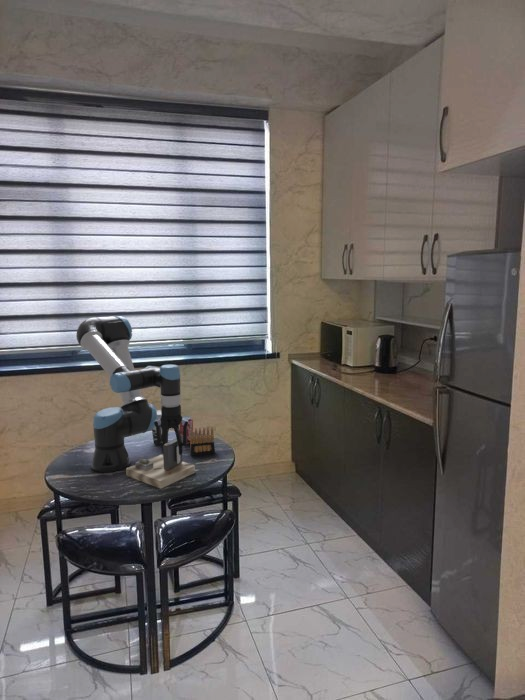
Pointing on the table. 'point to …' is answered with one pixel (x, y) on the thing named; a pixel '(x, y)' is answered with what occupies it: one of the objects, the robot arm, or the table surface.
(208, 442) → the ammunition clip
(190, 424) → the soda can
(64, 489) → the table surface
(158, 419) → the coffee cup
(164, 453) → the dark grey block
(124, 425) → the robot arm
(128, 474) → the instrument base
